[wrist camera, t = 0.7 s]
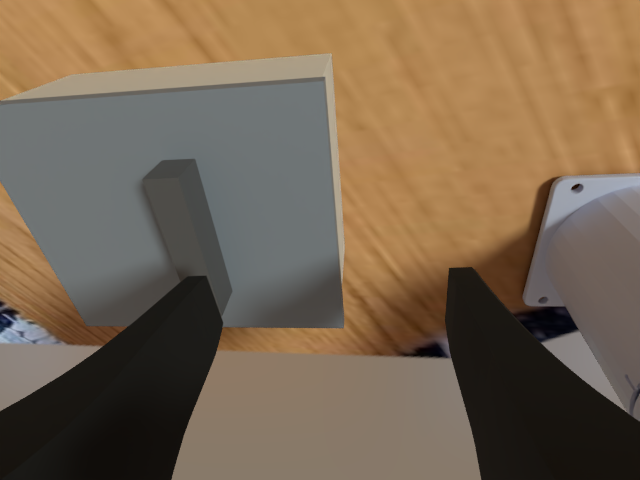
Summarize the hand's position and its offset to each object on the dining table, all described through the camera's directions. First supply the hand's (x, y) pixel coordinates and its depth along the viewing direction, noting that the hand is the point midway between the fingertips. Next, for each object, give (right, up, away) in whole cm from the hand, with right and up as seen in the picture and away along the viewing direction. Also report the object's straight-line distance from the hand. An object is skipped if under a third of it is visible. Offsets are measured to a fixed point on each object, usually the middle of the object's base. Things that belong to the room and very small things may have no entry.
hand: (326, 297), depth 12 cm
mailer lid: (-6, +2, +4) cm, 7 cm away
